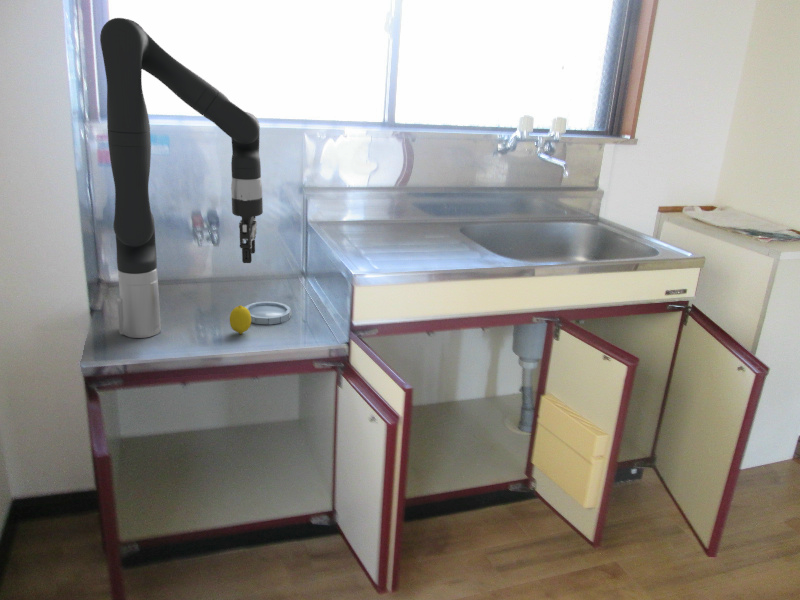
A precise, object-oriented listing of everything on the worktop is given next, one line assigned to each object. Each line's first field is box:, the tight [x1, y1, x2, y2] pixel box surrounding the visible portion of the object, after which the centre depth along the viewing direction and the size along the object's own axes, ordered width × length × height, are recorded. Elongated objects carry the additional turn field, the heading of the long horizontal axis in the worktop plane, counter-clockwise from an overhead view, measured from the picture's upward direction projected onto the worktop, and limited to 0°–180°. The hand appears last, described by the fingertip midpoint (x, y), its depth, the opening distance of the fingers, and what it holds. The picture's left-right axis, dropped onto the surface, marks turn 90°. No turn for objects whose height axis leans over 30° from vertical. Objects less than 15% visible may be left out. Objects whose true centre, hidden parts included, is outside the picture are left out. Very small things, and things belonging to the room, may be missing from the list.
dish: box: [244, 301, 292, 325], centre depth 189 cm, size 13×13×2 cm
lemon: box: [229, 304, 252, 335], centre depth 175 cm, size 6×6×8 cm
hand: (248, 257), depth 172 cm, fingers open, 8 cm apart
